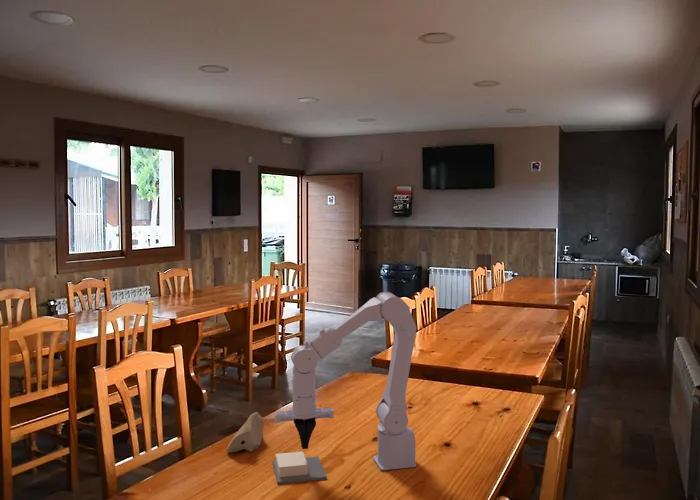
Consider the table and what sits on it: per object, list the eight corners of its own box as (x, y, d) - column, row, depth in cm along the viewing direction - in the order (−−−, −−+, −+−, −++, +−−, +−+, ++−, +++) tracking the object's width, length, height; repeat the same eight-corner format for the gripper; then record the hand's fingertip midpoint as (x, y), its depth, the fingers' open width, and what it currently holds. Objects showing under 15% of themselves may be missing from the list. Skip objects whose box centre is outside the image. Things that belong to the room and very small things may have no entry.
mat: (318, 458, 157) (318, 456, 157) (326, 479, 146) (326, 476, 146) (272, 463, 155) (272, 460, 155) (277, 484, 143) (277, 481, 143)
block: (302, 451, 154) (275, 453, 153) (307, 464, 147) (279, 467, 145) (302, 460, 155) (275, 463, 153) (307, 474, 147) (279, 477, 145)
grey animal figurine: (268, 435, 173) (268, 408, 173) (253, 456, 159) (253, 426, 158) (241, 434, 174) (240, 406, 174) (224, 454, 160) (223, 425, 159)
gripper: (329, 387, 154) (329, 438, 156) (273, 391, 151) (273, 443, 152) (335, 396, 148) (335, 449, 149) (276, 400, 144) (276, 455, 145)
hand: (304, 447), depth 150 cm, fingers closed
